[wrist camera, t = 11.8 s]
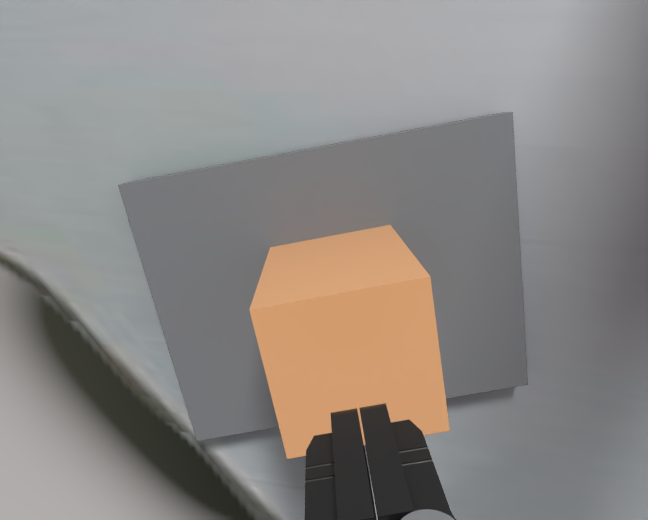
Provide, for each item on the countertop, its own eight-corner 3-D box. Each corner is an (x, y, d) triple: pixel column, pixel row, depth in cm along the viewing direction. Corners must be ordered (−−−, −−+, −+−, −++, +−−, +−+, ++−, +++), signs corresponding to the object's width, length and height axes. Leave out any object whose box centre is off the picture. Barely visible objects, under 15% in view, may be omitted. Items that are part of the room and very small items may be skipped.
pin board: (501, 112, 21) (591, 107, 15) (518, 372, 25) (594, 465, 19) (128, 182, 22) (44, 209, 15) (202, 426, 26) (162, 537, 19)
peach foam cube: (390, 224, 22) (430, 276, 14) (406, 334, 23) (449, 430, 16) (270, 247, 22) (249, 309, 15) (294, 354, 23) (287, 459, 16)
